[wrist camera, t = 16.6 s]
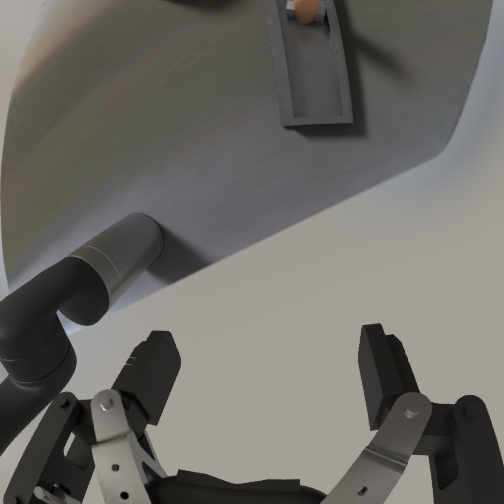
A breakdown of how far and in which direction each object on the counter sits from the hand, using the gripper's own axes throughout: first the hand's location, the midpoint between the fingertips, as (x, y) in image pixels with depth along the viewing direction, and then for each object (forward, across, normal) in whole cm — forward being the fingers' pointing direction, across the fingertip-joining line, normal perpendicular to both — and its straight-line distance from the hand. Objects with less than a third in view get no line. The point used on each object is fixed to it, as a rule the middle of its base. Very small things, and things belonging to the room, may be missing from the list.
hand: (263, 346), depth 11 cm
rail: (+32, -6, -20) cm, 39 cm away
